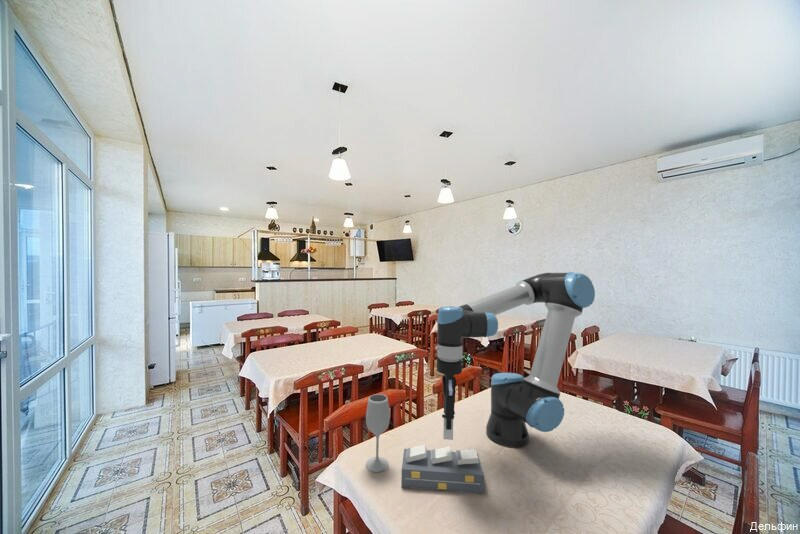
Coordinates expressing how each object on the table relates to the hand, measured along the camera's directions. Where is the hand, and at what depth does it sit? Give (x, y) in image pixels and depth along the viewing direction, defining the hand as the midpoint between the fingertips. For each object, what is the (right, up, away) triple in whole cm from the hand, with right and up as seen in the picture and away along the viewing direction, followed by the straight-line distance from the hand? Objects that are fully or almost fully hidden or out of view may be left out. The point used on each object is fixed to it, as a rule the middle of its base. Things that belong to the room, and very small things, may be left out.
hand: (448, 438), depth 88 cm
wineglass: (-22, -12, +6) cm, 25 cm away
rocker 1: (-9, -5, +1) cm, 11 cm away
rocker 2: (-2, -5, 0) cm, 6 cm away
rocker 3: (+6, -5, -1) cm, 8 cm away
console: (-2, -12, 0) cm, 12 cm away
